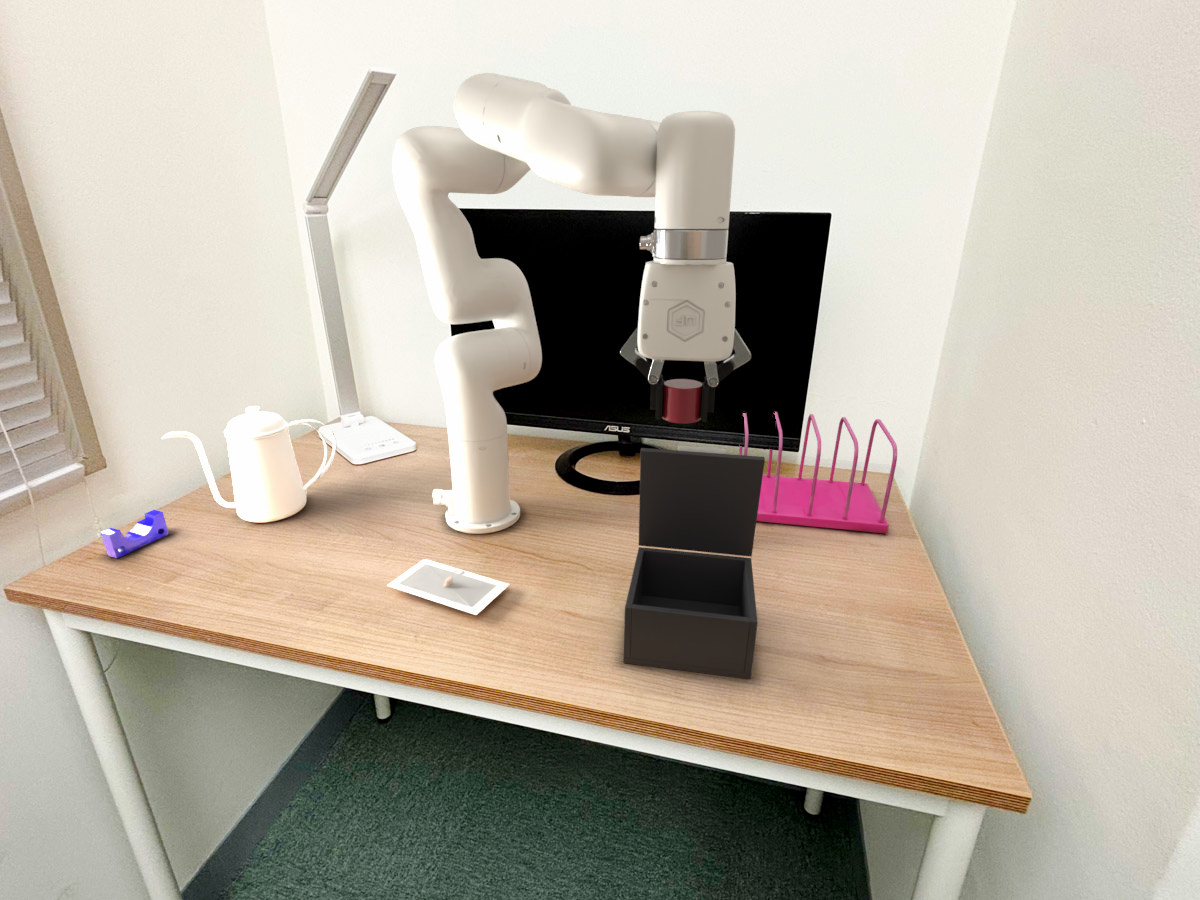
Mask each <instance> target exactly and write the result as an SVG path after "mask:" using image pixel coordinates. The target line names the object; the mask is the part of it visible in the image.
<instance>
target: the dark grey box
mask: <svg viewBox="0 0 1200 900" xmlns="http://www.w3.org/2000/svg"><path fill="white" fill-rule="evenodd" d="M636 553H637V554H636V557H635V563H634V566H633V570H632V575H631V579H630V584H629V588H628V592H627V596H626V602H625V605H624V625H623V628H624V629H623V655H622V656H623V658H622V660H623V664H628V665H636V666H644V667H651V668H652V667H654V668H660V669H667V670H676V671H684V672H692V673H699V674H706V675H715V676H722V677H731V678H736V679H737V678H739V679H745V680H751V678H752V671H753V661H754V654H755V648H756V647H755V646H756V638H757V637H756V636H757V630H758V614H757V613H758V612H757V603H756V593H755V592H756V591H755V584H754V583H755V582H754V573H753V563H752V558H751V557H746V556H736V555H726V554H716V553H706V552H696V551H685V550H675V549H665V548H655V547H644V546H639V547H638V549H637V552H636Z"/></svg>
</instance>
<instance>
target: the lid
mask: <svg viewBox="0 0 1200 900" xmlns="http://www.w3.org/2000/svg"><path fill="white" fill-rule="evenodd" d="M639 459H640V461H639V462H640V463H639V469H640V470H639V504H638V505H639V509H638V510H639V511H638V520H639V521H638V546H639V547H648V548H658V549H668V550H678V551H688V552H699V553H709V554H719V555H729V556H739V557H752V556H753V549H754V543H755V536H756V535H755V534H756V527H757V522H758V521H757V513H758V506H759V499H760V491H761V484H762V477H763V475H764V470H765V469H764V468H765V461H766V460H765V459H766V457H765V456H757V455H747V456H745V455H744V454H742V455H739V454H729V453H727V448H718V447H708V446H707V447H705V446H692V445H689V446H688V445H678V446H677V450H676V449H675V450H674V449H661V448H649V447H647V448H646V447H641V448H640V457H639Z"/></svg>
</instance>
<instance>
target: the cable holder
mask: <svg viewBox="0 0 1200 900" xmlns="http://www.w3.org/2000/svg"><path fill="white" fill-rule="evenodd" d="M169 533H170V532H169V529H168V526H167V521H166V519H165V515H164V512H163V511H160V510H157V509H152V510H150V511H148V512H146V513H144V518H143V519H140V520H138V521H137V522H136V523H135V526H134V527H133V528H131V530H129V531H127V532H126V533H125V534H126V536H125V535H124V534H123V533H122V531H121V529H118V528H117V529H116V528H113V527H110V528H108V529H105V530H101V531H100V537H101V538H102V542H103V545H104V548H105V551H106V554H107V556H108V557H110V558H114V559H119V558H121V557H123V556H125V555H128V554H130V553H132V552H134V551H136V550H138V549H140V548H142V547H144V546H147V545H148V544H151V543H153V542H155V541H157V540H160V539H162V538H164V537H166V536H168V535H169Z"/></svg>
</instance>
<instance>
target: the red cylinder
mask: <svg viewBox="0 0 1200 900" xmlns="http://www.w3.org/2000/svg"><path fill="white" fill-rule="evenodd" d="M702 388H703V382H701V381H698V380H695V379H690V378H689V379H688V378H674V379H669V380H665V382H664V387H663V412H662V418H661V419H663V420H664V421H666V422H668V423H674V424H679V425H682V424H684V425H685V424H686V425H688V424H694V423H697V422H699V421H701V404H702Z"/></svg>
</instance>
